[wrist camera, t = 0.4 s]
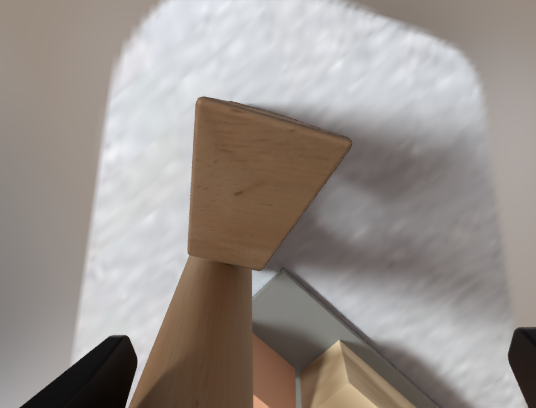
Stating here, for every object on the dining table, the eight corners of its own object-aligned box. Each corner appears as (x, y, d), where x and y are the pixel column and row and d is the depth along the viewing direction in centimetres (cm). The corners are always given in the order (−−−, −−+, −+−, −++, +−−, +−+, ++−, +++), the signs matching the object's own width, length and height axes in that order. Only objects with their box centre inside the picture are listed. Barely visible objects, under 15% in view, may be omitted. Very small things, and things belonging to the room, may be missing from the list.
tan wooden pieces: (287, 117, 21) (465, 171, 4) (244, 268, 24) (231, 706, 6) (229, 100, 20) (123, 74, 3) (193, 257, 23) (30, 693, 6)
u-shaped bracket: (224, 427, 27) (210, 497, 22) (166, 382, 26) (138, 443, 21) (295, 368, 25) (296, 429, 20) (234, 317, 24) (221, 368, 19)
